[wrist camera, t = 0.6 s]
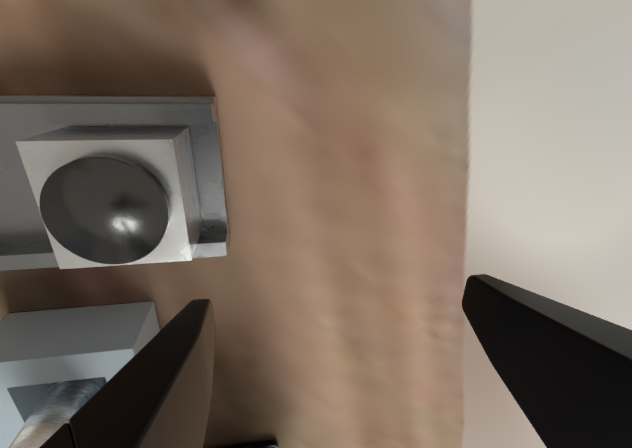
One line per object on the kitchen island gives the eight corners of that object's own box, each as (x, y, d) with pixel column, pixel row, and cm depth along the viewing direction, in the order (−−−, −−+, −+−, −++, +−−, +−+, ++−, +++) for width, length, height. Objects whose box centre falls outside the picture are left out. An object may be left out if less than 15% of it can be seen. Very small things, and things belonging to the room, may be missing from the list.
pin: (126, 383, 22) (51, 565, 14) (72, 390, 21) (-38, 583, 13) (114, 346, 21) (25, 523, 13) (57, 352, 20) (-76, 540, 12)
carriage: (188, 126, 16) (168, 143, 12) (202, 228, 18) (188, 269, 14) (64, 127, 15) (0, 145, 11) (94, 233, 17) (49, 279, 14)
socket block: (173, 391, 24) (159, 447, 21) (50, 407, 23) (12, 469, 19) (153, 301, 21) (132, 348, 17) (8, 313, 20) (-47, 367, 16)
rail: (216, 96, 17) (208, 100, 14) (230, 239, 20) (226, 264, 17) (-118, 93, 15) (-202, 98, 12) (-40, 254, 18) (-93, 287, 15)
